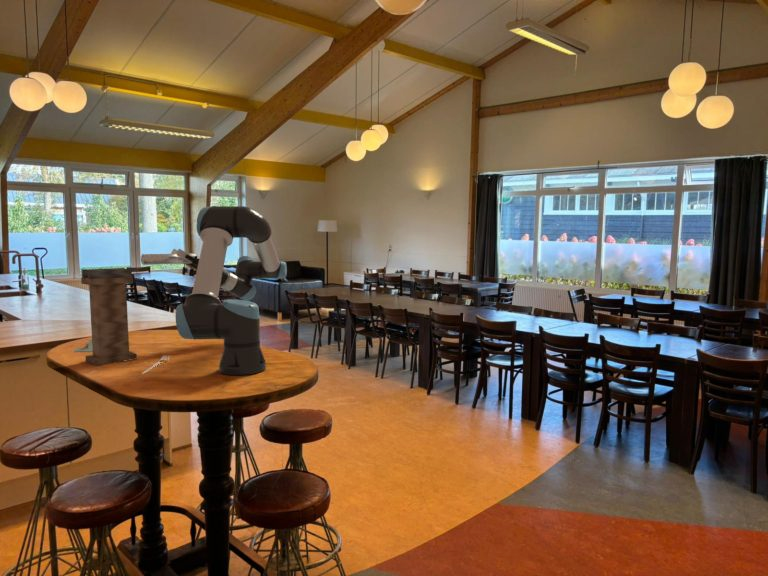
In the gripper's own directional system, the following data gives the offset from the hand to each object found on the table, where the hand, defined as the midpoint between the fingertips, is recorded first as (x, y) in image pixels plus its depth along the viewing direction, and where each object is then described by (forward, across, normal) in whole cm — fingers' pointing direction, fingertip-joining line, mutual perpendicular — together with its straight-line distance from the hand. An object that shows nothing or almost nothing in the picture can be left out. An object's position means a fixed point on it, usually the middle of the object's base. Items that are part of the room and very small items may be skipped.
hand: (175, 251), depth 206 cm
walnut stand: (+2, 0, -46) cm, 46 cm away
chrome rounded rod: (0, 0, -5) cm, 5 cm away
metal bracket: (-2, +24, -44) cm, 51 cm away
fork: (-4, -21, -43) cm, 48 cm away
